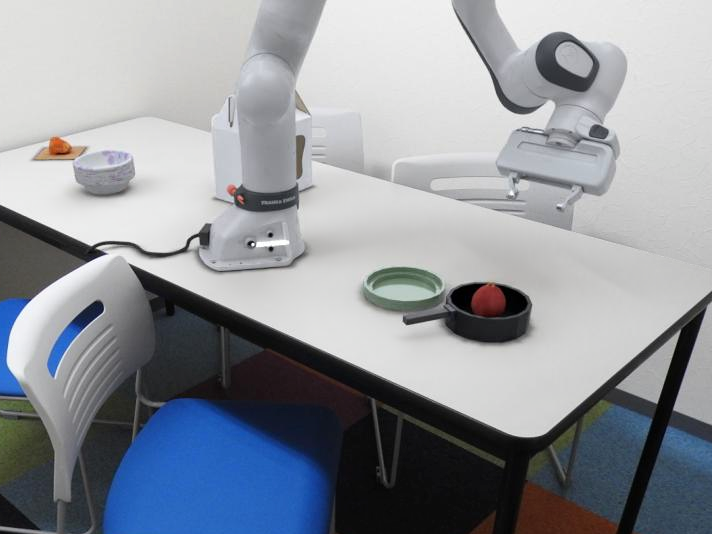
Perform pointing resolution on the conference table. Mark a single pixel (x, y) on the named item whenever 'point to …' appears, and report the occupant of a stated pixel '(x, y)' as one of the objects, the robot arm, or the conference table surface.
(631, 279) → the conference table surface
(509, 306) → the pan
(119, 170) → the paper bowls
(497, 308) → the onion
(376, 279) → the plate
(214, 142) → the gable box
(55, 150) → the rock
